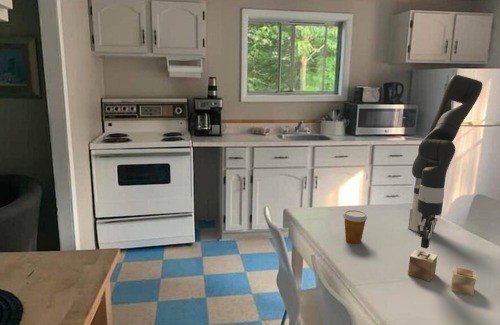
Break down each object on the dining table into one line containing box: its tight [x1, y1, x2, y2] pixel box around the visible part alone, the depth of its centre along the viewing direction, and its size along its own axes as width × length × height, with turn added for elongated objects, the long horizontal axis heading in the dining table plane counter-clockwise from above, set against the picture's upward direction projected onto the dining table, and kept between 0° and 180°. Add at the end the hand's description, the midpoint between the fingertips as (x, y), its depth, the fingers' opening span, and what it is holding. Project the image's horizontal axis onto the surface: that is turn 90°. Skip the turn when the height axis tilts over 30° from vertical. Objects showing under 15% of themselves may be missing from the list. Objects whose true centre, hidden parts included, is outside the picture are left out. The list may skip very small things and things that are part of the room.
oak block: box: [451, 266, 477, 297], centre depth 120 cm, size 6×6×6 cm
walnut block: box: [407, 249, 438, 282], centre depth 129 cm, size 7×7×7 cm
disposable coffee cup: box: [343, 209, 368, 244], centre depth 157 cm, size 10×10×12 cm
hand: (424, 247), depth 128 cm, fingers closed
